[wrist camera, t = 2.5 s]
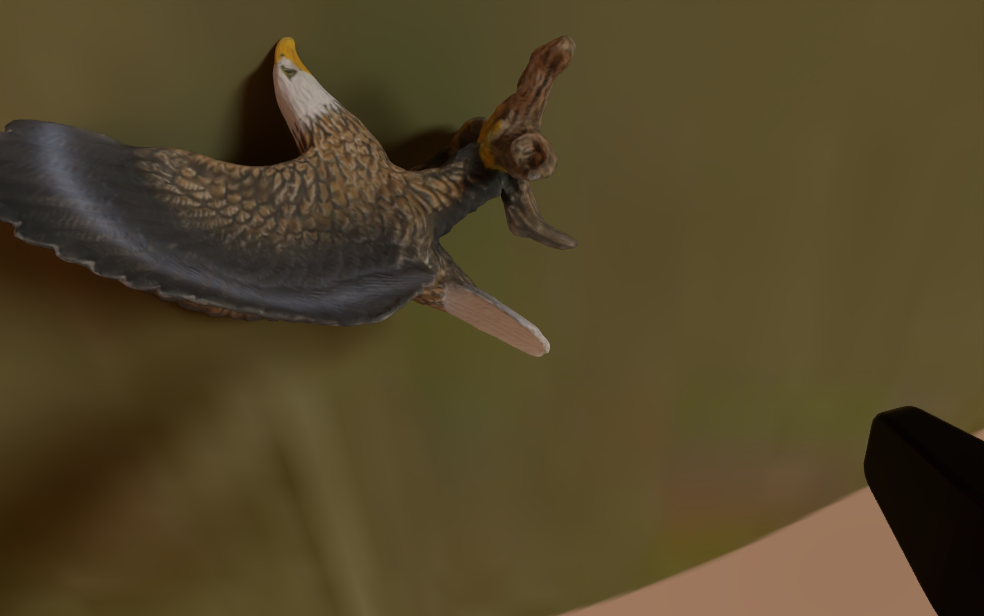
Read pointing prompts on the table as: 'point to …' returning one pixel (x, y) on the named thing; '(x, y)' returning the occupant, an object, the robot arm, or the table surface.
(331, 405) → the table surface
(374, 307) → the eagle figurine
